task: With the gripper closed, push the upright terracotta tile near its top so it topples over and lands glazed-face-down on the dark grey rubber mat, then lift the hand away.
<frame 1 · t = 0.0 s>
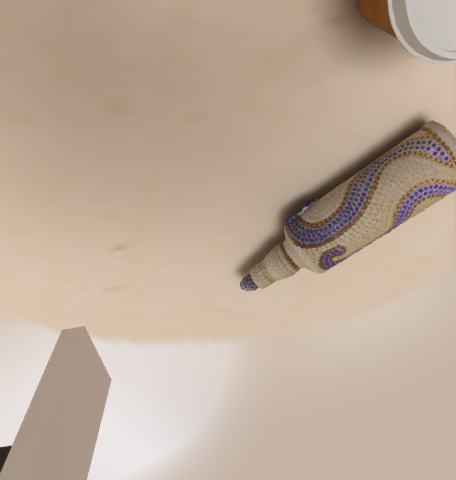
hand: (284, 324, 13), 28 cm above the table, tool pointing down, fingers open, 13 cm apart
decorative bottle: (332, 199, 42), on the table
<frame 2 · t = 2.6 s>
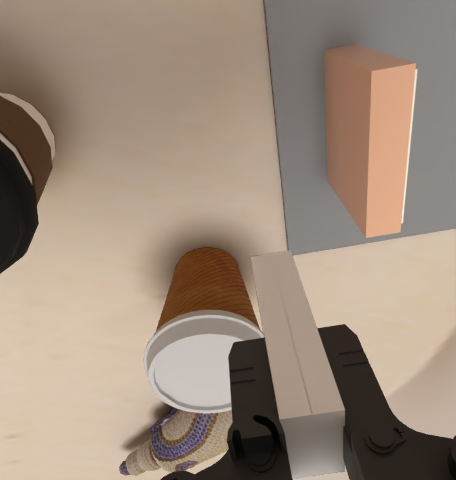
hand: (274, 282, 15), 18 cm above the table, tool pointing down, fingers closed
mat: (391, 107, 30), on the table
disposable coffee cup: (207, 272, 38), on the table
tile: (342, 118, 29), point 1 cm above the table, touching mat
coffee cup: (13, 135, 30), on the table
decorative bottle: (198, 399, 48), on the table
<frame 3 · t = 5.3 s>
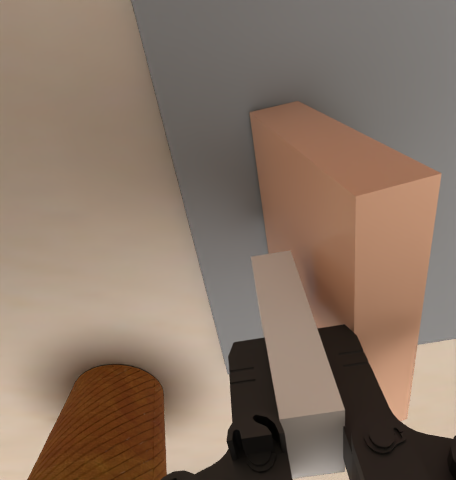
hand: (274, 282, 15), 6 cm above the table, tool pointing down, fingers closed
mat: (361, 186, 20), on the table
disposable coffee cup: (119, 390, 28), on the table
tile: (286, 207, 19), point 1 cm above the table, tilted 10°, touching mat
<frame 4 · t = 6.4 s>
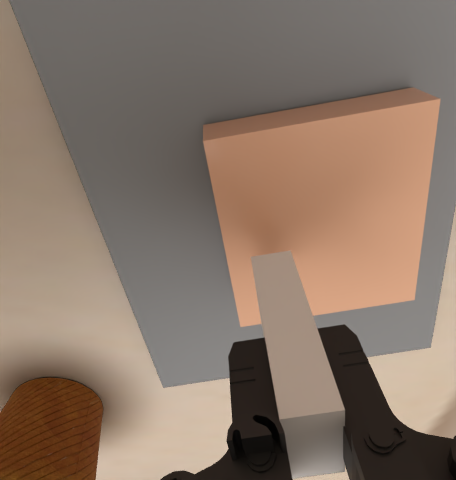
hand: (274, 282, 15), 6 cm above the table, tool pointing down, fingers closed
mat: (276, 206, 20), on the table
disposable coffee cup: (59, 403, 28), on the table
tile: (223, 233, 18), point 2 cm above the table, tilted 90°, touching mat
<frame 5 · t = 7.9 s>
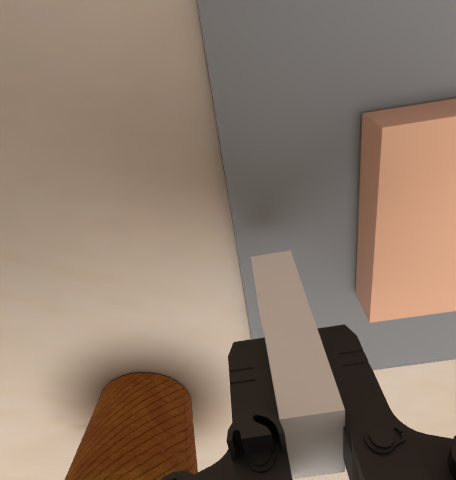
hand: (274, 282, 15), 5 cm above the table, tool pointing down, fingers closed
mat: (409, 199, 19), on the table
disposable coffee cup: (146, 399, 27), on the table
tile: (365, 226, 18), point 2 cm above the table, tilted 90°, touching mat
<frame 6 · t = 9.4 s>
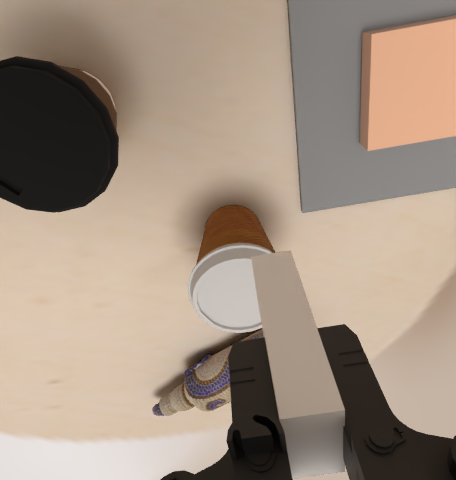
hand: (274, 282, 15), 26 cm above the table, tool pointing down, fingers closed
mat: (388, 84, 37), on the table
disposable coffee cup: (232, 228, 44), on the table
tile: (364, 94, 35), point 2 cm above the table, tilted 90°, touching mat
coffee cup: (81, 105, 36), on the table
decorative bottle: (225, 350, 55), on the table
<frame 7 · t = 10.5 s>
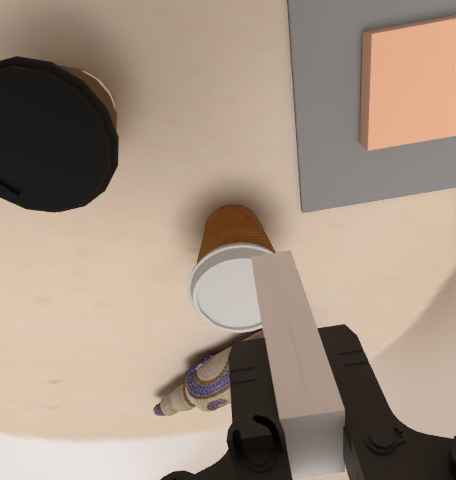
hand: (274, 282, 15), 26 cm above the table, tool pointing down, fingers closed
mat: (388, 84, 37), on the table
disposable coffee cup: (232, 228, 44), on the table
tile: (364, 94, 35), point 2 cm above the table, tilted 90°, touching mat
coffee cup: (81, 105, 36), on the table
decorative bottle: (226, 351, 55), on the table
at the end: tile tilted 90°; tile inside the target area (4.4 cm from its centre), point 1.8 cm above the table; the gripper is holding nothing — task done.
